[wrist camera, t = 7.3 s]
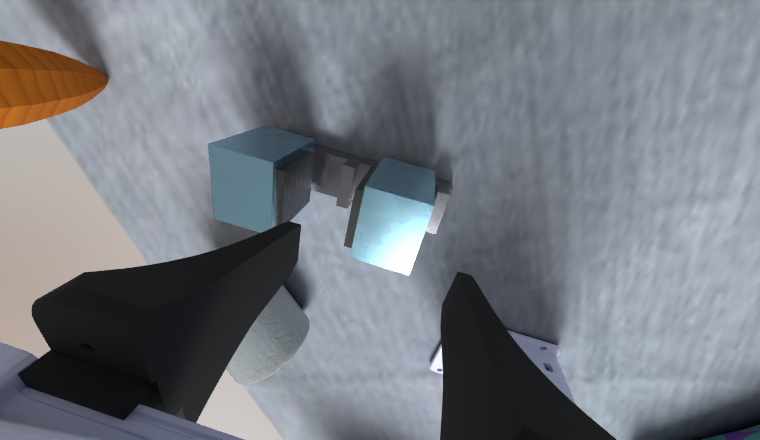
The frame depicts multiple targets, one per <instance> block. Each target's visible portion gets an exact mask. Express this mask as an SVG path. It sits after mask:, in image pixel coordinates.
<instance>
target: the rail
mask: <svg viewBox="0 0 760 440" xmlns="http://www.w3.org/2000/svg"><path fill="white" fill-rule="evenodd" d="M208 150H209V162H210V174H211V185H212V197H213V209H214V219H216V220H219V221H222V222H226V223H229V224H232V225H236V226H239V227H242V228H246V229H249V230H252V231H256V232H259V233H262V232H264V231H266V230H269V229H271V228H273V227H275V226H278V225H280V224H282V223H285V222H287V221H291V220H292V219H293V218H294V217H295V216H296V215H297V213H298V212H299V211H300V210H301V209H302V208H303V207H304V206H305V205H306V204H307V203H308V202H309V200H310V191H311V190H314V191H317V192H321V193H324V194H328V195H331V196H334V197H338V198H337V204H336V205H337V206H340V207H344V208H348V207H349V205H350V204H351V202H353V198H354V193H355V189H356V187H357V186H358V185H359V183H360V182H361V180H362V179H363V177H364V176H365V174H366V173H367V172H368V170H369V169H370V167H371V166H374V167H377V166H378V165H379V162H376V161H372V160H369V159H365V158H362V157H358V156H355V155H351V154H347V153H344V152H340V151H337V150H333V149H330V148H326V147H323V146H319V145H315V139H313V138H309V137H306V136H302V135H298V134H295V133H291V132H288V131H284V130H281V129H277V128H274V127H270V126H263V127H259V128H256V129H253V130H250V131H247V132H244V133H241V134H237V135H234V136H231V137H228V138H225V139H222V140H219V141H216V142H212V143H209V144H208ZM452 190H453V187H452V183H450V182H447V181H443V180H440V179H436V178H435V206H434V209H433V212H432V214H431V217H430V220H429V223H428V225H427V228H426V232H429V233H433V234H436V232H437V229H438V226H439V224H440V221H441V219H442V216H443V214H444V211H445V208H446V206H447V203H448V201H449V198H450V196H451V193H452Z"/></svg>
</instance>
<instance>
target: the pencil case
mask: <svg viewBox="0 0 760 440" xmlns="http://www.w3.org/2000/svg"><path fill="white" fill-rule="evenodd" d="M700 440H760V424H759V425H756V426H753V427H750V428H747V429H744V430H739V431H734V432H729V433H725V434H721V435H718V436H713V437H708V438H704V439H700Z"/></svg>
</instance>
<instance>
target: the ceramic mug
mask: <svg viewBox="0 0 760 440" xmlns="http://www.w3.org/2000/svg"><path fill="white" fill-rule="evenodd" d="M308 330H309V320H308V318H307V316H306V315H305V313H304V312H303V311H302V310H301V308H300V307H299V306H298V304H297V303H296V301H295V300H294V299H293V297H292V296H291V295H290V293H289V292H288V291H287V290H286V288H285V287H284V286H283V285H282V286H281V287H280V289H279V290H278V291H277V293H276V294H275V295H274V297H273V298H272V299H271V300H270V302H269V303H268V304H267V306H266V307H265V308H264V310H263V311H262V312H261V313H260V315H259V316H258V317H257V319H256V320H255V322H254V323H253V324H252V326H251V327H250V329H249V331H248V332H247V334H246V335H245V337H244V339H243V340H242V342H241V344H240V345H239V347H238V348H237V350H236V352H235V354H234V355H233V357H232V359H231V360H230V362H229V364H228V365H227V367H226V370H227V371H228V372H229V373H230V375H231V376H232V377H233V378H234V380H235V381H236V382H238V383H239V384H243V385H245V384H246V385H248V384H253V383H256V382H259V381H261V380H263V379H265V378H267V377H269V376H270V375H272V374H273V373H275V372H276V371H278V370H279V369H280V368H281V367H282V366H283V365H284V364H286V363H287V362H288V361H289V360H290V359H291V358H292V357H293V355H294V354H295V353H296V352H297V350H298V349H299V348H300V346H301V345H302V343H303V342H304V340H305V338H306V336H307V333H308Z"/></svg>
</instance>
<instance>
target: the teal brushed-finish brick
mask: <svg viewBox="0 0 760 440" xmlns="http://www.w3.org/2000/svg"><path fill="white" fill-rule="evenodd" d="M434 206H435V170H431V169H428V168H424V167H421V166H417V165H414V164H410V163H406V162H403V161H399V160H396V159H392V158H389V157H385V156H384V157H383V158H382V160H381V161H380V163H379V165H378V166H377V167H374V166H371V167H370V169H369V170H368V172H367V173H366V174H365V176H364V177H363V179H362V180H361V182H360V183H359V185H358V186H357V187H356V189H355V193H354V198H353V203H352V208H351V213H350V218H349V223H348V228H347V233H346V238H345V243H344V246H346V247H349V248H352V249H351V253H350V258H353V259H356V260H359V261H363V262H366V263H369V264H373V265H376V266H379V267H383V268H386V269H389V270H393V271H396V272H399V273H403V274H406V275H409V274H410V272H411V269H412V266H413V263H414V261H415V258H416V255H417V253H418V250H419V247H420V244H421V242H422V239H423V236H424V233H425V231H426V228H427V225H428V223H429V220H430V217H431V214H432V212H433V209H434Z"/></svg>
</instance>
